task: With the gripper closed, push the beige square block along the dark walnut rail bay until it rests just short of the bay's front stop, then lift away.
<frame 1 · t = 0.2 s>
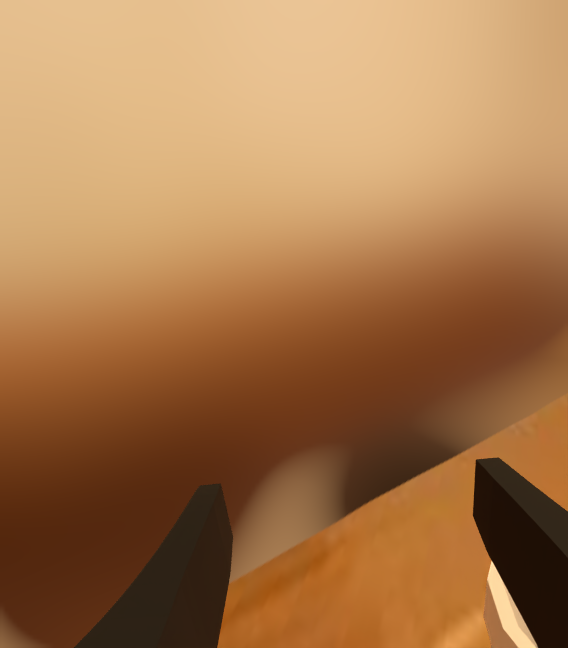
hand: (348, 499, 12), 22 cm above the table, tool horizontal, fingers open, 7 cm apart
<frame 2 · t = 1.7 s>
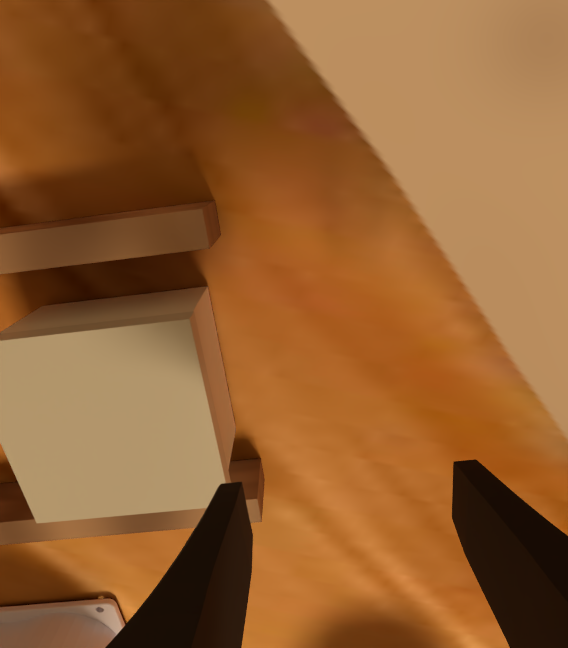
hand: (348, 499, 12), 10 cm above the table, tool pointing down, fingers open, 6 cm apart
beige square block: (127, 397, 19), point 3 cm above the table, slide at 0.0 cm
bay: (14, 383, 22), on the table
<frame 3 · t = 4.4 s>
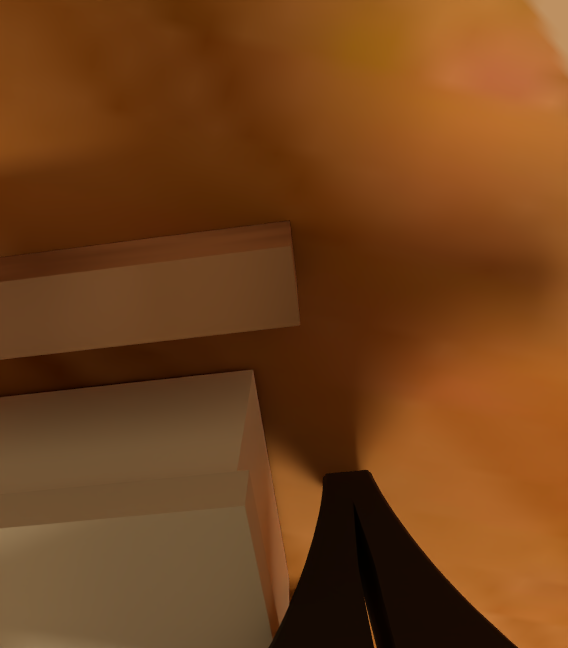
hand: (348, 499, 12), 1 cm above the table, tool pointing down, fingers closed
beige square block: (113, 573, 11), point 3 cm above the table, slide at 0.5 cm, touching gripper
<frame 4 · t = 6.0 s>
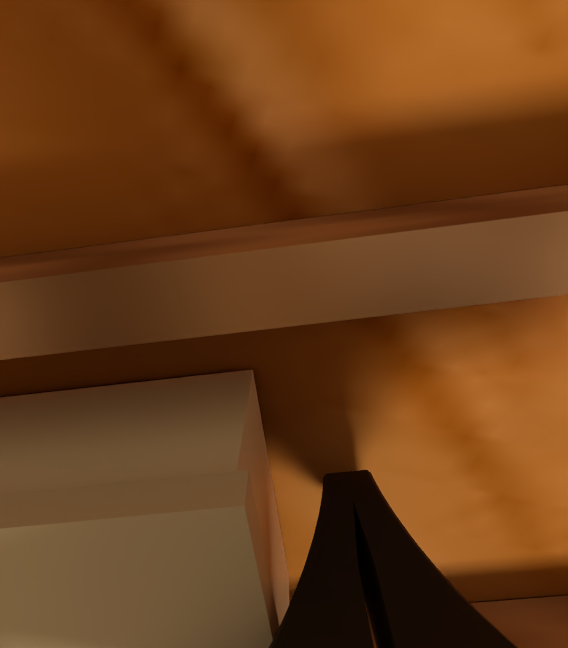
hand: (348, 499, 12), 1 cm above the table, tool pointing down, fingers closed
beige square block: (113, 574, 11), point 3 cm above the table, slide at 9.5 cm, touching gripper
bay: (226, 485, 13), on the table
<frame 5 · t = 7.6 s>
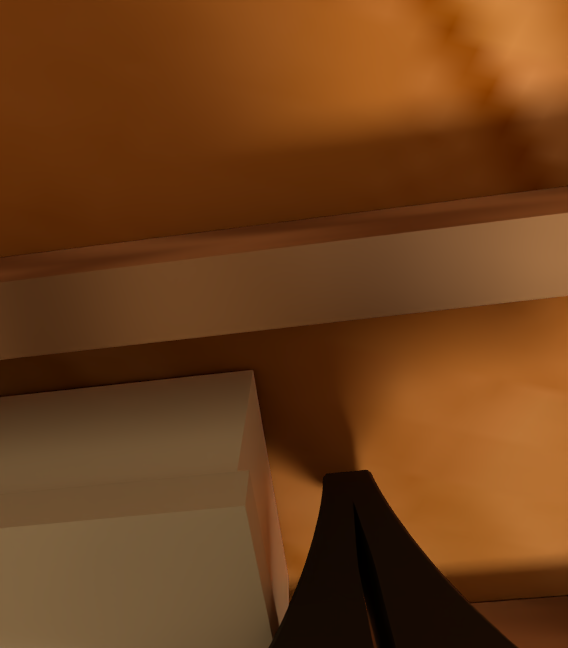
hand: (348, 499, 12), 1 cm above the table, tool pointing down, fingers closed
beige square block: (113, 573, 11), point 3 cm above the table, slide at 15.2 cm, touching gripper
bay: (409, 468, 13), on the table
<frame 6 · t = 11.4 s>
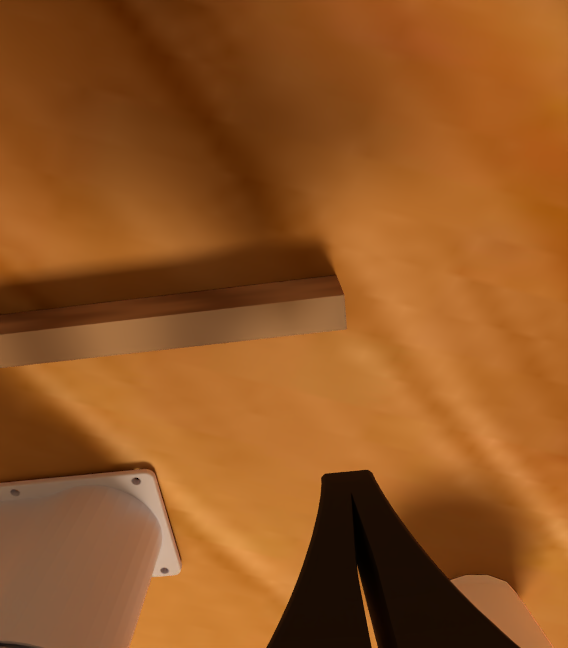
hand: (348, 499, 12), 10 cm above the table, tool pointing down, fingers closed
bay: (43, 166, 18), on the table
foam cup: (468, 605, 28), on the table
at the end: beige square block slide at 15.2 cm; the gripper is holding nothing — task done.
